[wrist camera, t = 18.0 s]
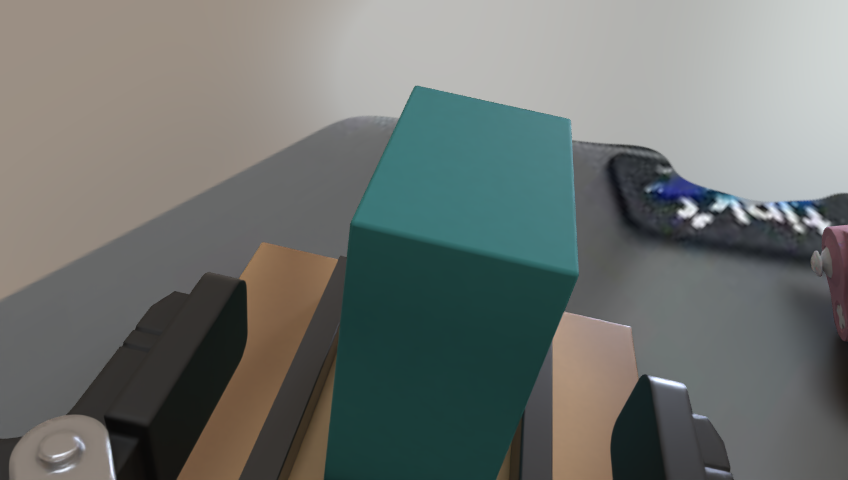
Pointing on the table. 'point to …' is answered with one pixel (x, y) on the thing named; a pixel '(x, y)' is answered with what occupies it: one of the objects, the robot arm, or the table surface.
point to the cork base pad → (314, 378)
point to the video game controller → (835, 272)
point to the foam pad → (451, 290)
